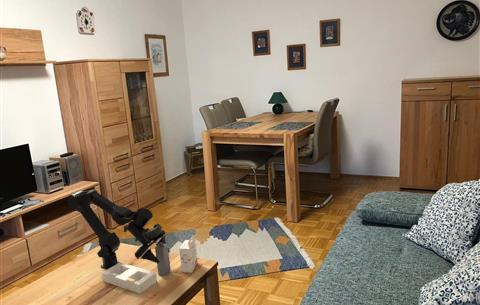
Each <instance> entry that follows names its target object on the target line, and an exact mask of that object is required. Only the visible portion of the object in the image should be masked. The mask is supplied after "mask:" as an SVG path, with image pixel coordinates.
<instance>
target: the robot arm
mask: <svg viewBox="0 0 480 305" xmlns="http://www.w3.org/2000/svg"><path fill="white" fill-rule="evenodd" d="M90 202H91V203H92V204H94V205H95V206H97V207H98V208H99V209H101V210H102V211H103V212H105V213H107V214H109V216H110V217H111V219H112V221H114V222H115V224H117V226H123V233H126V232H127V231H128V232H129V234H131V235H132V236H133V237H134V241H135V242H136V243H137V242H139V243H140V244H141V246H140V247H139V248H138V249H137V250H136V251H135V253H134V257H135V258H136V259H137V260H139V259H140V260H146V261H150V262H153V263H155V264H157V263H159V262H160V261H159V260H158V259H157V257H156V254H154V253H153V251H152V248H151V246H153V245H154V244H155V247H156V246H157V245H158V244H159V243H163V244H167V241H166V234H167V232H166V231H165V230H163V227H162V226H161V224H159V223H155V224H154V225H153V228H151V229H150V228H149V227H146V225H147V224H148V223H149V222H150V221H151V219H152V218H153V212H152V211H151V210H150V209H147V208H143V206H141V207H139V208H138V210H137V211H136V210H135V211H134V210H131V209H130V208H127V207H126V206H122V205H118V204H116V203H114V202H112V201H111V200H110V199H108V198H107V197H105V196H104V195H103V194H100V193H99V192H98V191H97V189H91V190H86V191H84V190H78V191H77V192H75V193H72V194H70V195H69V196H68V197H67V204H68V205H69V206H70V207H71V209H73V210H74V211H76V212H78V213H80V215H82V217H83V218H84V220H85V221H86V222H87V224H88V225H89V227H90V228H91V230H92V231H93V232H94V234H95V235H96V236H97V238H98V245H99V247H100V249H99V250H98V251H97V253H96V254H97V256H98V258H102V264H101V265H100V268H102V269H106V270H108V269H109V268H111V267H113V266H114V265H116V264H118V263H119V262H120V261H118V257H117V252H116V251H118V250H119V247H120V246H121V240H120V237H119V236H118V235H117V233H116V231H112V232H110V231H109V230H108V229H107V227H106V226H105V225H104V224H103V222H102V220H101V219H100V218H99V217H98V215H97V214H96V213H95V210H93V208H92V207H91V203H90ZM145 227H146V228H145ZM168 252H169V253H170V252H171V250H170V248H169V247H168Z"/></svg>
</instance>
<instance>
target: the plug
mask: <svg viewBox="0 0 480 305" xmlns="http://www.w3.org/2000/svg"><path fill="white" fill-rule="evenodd" d="M168 248H169V244H168V243H166V244H163V243H159V244H158V245H157V246H156V245H155V246H154V250H155V251H154V252H155V256H156V257H157V259H158V260H159V261H160V262H159V263H156V268H157V274H158V275H161V276H167V275H168V274H170V272H171V264H170V263H171V261H170V252H168Z"/></svg>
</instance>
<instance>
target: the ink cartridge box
mask: <svg viewBox="0 0 480 305" xmlns="http://www.w3.org/2000/svg"><path fill="white" fill-rule="evenodd" d="M196 243H197V242H196V238H195V234H192V236H191V237H190V238H189V239H185V240H184V241H183V243H182V244H181V245H180V247H179V248H178V250H179V257H180V265H181V266H180V267H181V272H182V273H190V274H191V273H193V272H194V270H195V268H196V266H197V265H198V256H197V255H198V253H197V246H196V245H197V244H196Z"/></svg>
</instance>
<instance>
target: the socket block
mask: <svg viewBox="0 0 480 305" xmlns="http://www.w3.org/2000/svg"><path fill="white" fill-rule="evenodd" d="M118 262H119V263H118V264H116V265H114V266H113V267H111V268H109V269H106V270H105V271H102V273H101V275H102V280H103V282H105V283H108V284H110V285H114V286H116V287H119V288H123V289H125V290H128V291H131V292H134V293H137V294H142V293H143V292H145V291H146V290H147V289H149V288H150V287H152V286H154V284H155V283H157V282H158V279H157V272H154V271H150V270H148V269H145V268H140V267H137V266H134V265H131V264H127V263H124V262H120V261H118Z"/></svg>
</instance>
